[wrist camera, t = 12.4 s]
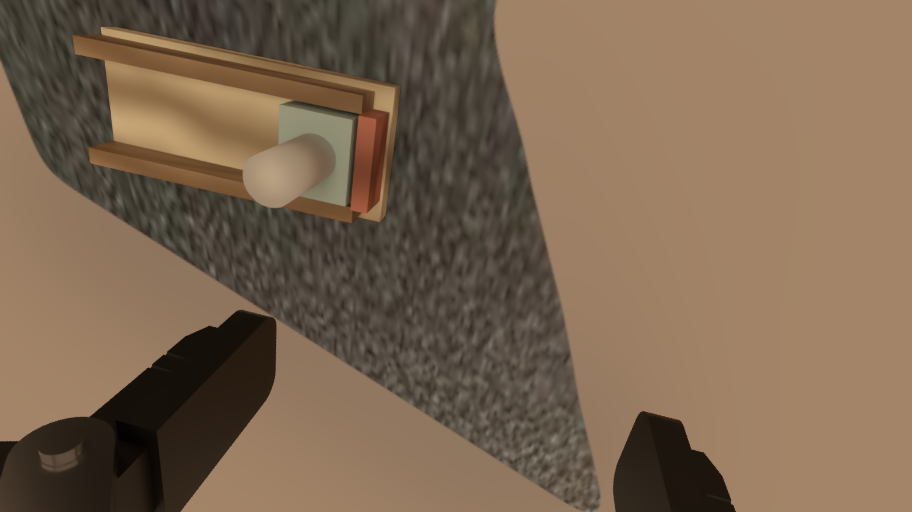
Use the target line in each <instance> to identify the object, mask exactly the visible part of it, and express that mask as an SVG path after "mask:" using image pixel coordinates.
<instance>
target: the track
mask: <svg viewBox="0 0 912 512" xmlns="http://www.w3.org/2000/svg"><path fill="white" fill-rule="evenodd" d="M101 32H102V35H73V42H74V49H75V54H79V55H83V56H88V57H93V58H98V59H102V60H105V66H106V75H107V83H108V92H109V100H110V109H111V117H112V126H113V134H114V141H112V142H108V143H104V144H100V145H97V146H93V147H89V155H90V163H92V164H96V165H101V166H105V167H109V168H114V169H118V170H122V171H127V172H131V173H135V174H140V175H144V176H148V177H153V178H157V179H161V180H166V181H170V182H174V183H179V184H183V185H187V186H192V187H196V188H200V189H205V190H209V191H213V192H218V193H222V194H226V195H231V196H235V197H239V198H244V199H248V200H252V201H255V200H254V199H253V198H252V197H251V196H250V194H249V193H248V191H247V190H246V188H245V185H244V182H243V168H244V165H245V163H246V162H247V160H248V159H249V158H250V157H252V156H254V155H256V154H258V153H260V152H263V151H265V150H267V149H270V148H272V147H274V146H277V145H278V144H279V104H283V103H286V102H290V101H293V100H296V101H301V102H305V103H310V104H315V105H320V106H324V107H329V108H334V109H338V110H343V111H348V112H353V113H357V114H361V115H359V117H358V129H357V140H356V151H355V163H354V174H353V185H352V197H351V202H350V203H349V204H348V205H347V206H340V205H336V204H332V203H327V202H323V201H319V200H314V199H310V198H305V197H301V196H299V197H297V198H296V199H294V200H293V201H291V202H290V203H288V204H286V205H285V206H283V208H287V209H292V210H296V211H300V212H305V213H309V214H313V215H318V216H322V217H326V218H331V219H335V220H339V221H344V222H348V223H352V222H353V221H354V220H355V219H356V218H357V217H360V218H364V219H369V220H373V221H377V222H380V221H381V220H382V219H383V218H384V217H385V216H386V208H387V200H388V192H389V183H390V175H391V167H392V158H393V150H394V142H395V133H396V125H397V117H398V108H399V100H400V92H401V85H396V84H391V83H386V82H381V81H376V80H371V79H366V78H362V77H357V76H352V75H347V74H342V73H337V72H332V71H328V70H323V69H318V68H313V67H308V66H303V65H298V64H294V63H289V62H284V61H279V60H274V59H269V58H264V57H259V56H255V55H250V54H245V53H240V52H235V51H230V50H225V49H221V48H216V47H211V46H206V45H201V44H196V43H191V42H186V41H182V40H177V39H172V38H167V37H162V36H157V35H152V34H148V33H143V32H138V31H133V30H128V29H123V28H118V27H101Z"/></svg>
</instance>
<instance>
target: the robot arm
mask: <svg viewBox="0 0 912 512" xmlns="http://www.w3.org/2000/svg"><path fill="white" fill-rule="evenodd" d="M275 370H276V321H275V319H274V318H273V317H269V316H265V315H260V314H256V313H252V312H248V311H244V310H238V311H236V312H235V313H234V314H233V315H231V316H230V317H229V318H228V319H227V320H226V321H225V322H224V323H223V324H221V325H220V326H219V327H218V328H216V327H212V326H208V327H206V328H204V329H201V330H199V331H197V332H194V333H192V334H190V335H188V336H185V337H184V338H183V339H182V340H181V341H179V342H178V343H177V344H176V345H175V346H173V347H172V348H171V349H170V350H169V351H167V354H166V355H163V356H161V357H160V358H159V359H158V360H157V361H156V362H154V363H153V364H152V367H151V368H147V369H146V370H145V371H144V372H142V373H141V374H140V375H139V376H138V377H137V378H135V379H134V380H133V381H132V382H131V383H129V384H128V385H127V386H126V387H125V388H123V389H122V390H121V391H120V392H119V393H118V394H116V395H115V396H114V397H113V398H112V399H110V400H109V401H108V402H107V403H106V404H104V405H103V406H102V407H101V408H100V409H98V410H97V411H96V412H95V413H94V414H93V415H91V416H90V417H73V418H67V419H62V420H58V421H55V422H52V423H49V424H47V425H44V426H42V427H40V428H38V429H36V430H34V431H32V432H31V433H29V434H28V435H26V436H25V437H24V438H22V439H21V440H20V441H9V442H8V441H6V442H5V441H2V442H1V441H0V512H181V510H182V509H183V508H184V506H185V505H186V503H187V502H188V501H189V500H190V498H191V497H192V496H193V494H194V493H195V492H196V491H197V489H198V488H199V487H200V486H201V484H202V483H203V482H204V480H205V479H206V478H207V476H208V475H209V474H210V472H211V471H212V470H213V469H214V467H215V466H216V465H217V463H218V462H219V461H220V459H221V458H222V457H223V456H224V454H225V453H226V452H227V450H228V449H229V448H230V446H231V445H232V444H233V443H234V441H235V440H236V439H237V437H238V436H239V435H240V434H241V432H242V431H243V430H244V428H245V427H246V426H247V424H248V423H249V422H250V420H251V419H252V418H253V417H254V415H255V414H256V413H257V411H258V410H259V409H260V407H261V406H262V405H263V403H264V402H265V401H266V399H267V398H268V396H269V394H270V391H271V389H272V386H273V383H274V379H275ZM613 494H614V502H615V510H616V512H736V511H735V508H734V506H733V505H732V504H731V498H730V495H729V493H728V490H727V487H726V485H725V482H724V480H723V477H722V475H721V474H720V473H719V471H718V470H717V469H716V467H715V466H714V465H713V464H712V462H711V461H710V460H709V459H708V457H707V456H706V455H705V454H704V453H703V452H699V451H695V450H691V447H690V444H689V441H688V438H687V435H686V432H685V429H684V426H683V424H682V422H681V421H680V420H677V419H672V418H668V417H665V416H661V415H657V414H653V413H648V412H645V411H642V412H640V414H639V415H638V416H637V418H636V421H635V423H634V425H633V428H632V430H631V432H630V435H629V437H628V439H627V442H626V444H625V447H624V449H623V451H622V454H621V456H620V459H619V461H618V463H617V466H616V470H615V475H614V483H613Z"/></svg>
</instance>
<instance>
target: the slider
mask: <svg viewBox="0 0 912 512" xmlns="http://www.w3.org/2000/svg"><path fill="white" fill-rule="evenodd" d="M359 115H361V114H357V113H353V112H348V111H343V110H338V109H334V108H329V107H324V106H320V105H315V104H310V103H305V102H301V101H296V100H293V101H290V102H286V103H283V104H279V144H278V145H277V146H274V147H272V148H270V149H267V150H265V151H263V152H260V153H258V154H256V155H254V156H252V157H250V158H249V159H248V160H247V162H246V163H245V165H244V168H243V182H244V185H245V188H246V190H247V191H248V193H249V194H250V196H251V197H252V198H253V199H254V200H255V201H257V202H258V203H259V204H261V205H263V206H266V207H270V208H279V207H283V206H285V205H286V204H288V203H290V202H291V201H293V200H294V199H296V198H297V197H299V196H301V197H305V198H310V199H314V200H319V201H323V202H327V203H332V204H336V205H340V206H347V205H348V204H349V203H350V202H351V197H352V185H353V174H354V163H355V151H356V140H357V129H358V117H359Z"/></svg>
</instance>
